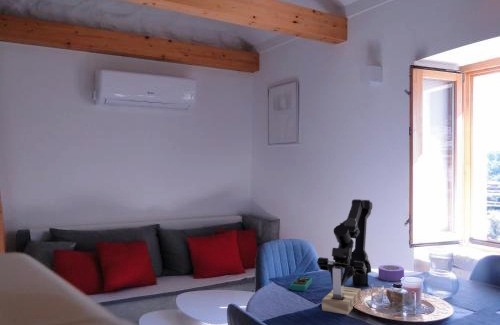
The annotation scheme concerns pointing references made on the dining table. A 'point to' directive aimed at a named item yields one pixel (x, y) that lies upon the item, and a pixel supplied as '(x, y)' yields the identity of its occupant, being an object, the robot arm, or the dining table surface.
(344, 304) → the socket block
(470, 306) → the dining table surface
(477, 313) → the dining table surface
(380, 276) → the tape roll
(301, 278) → the digital multimeter
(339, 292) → the square bit
